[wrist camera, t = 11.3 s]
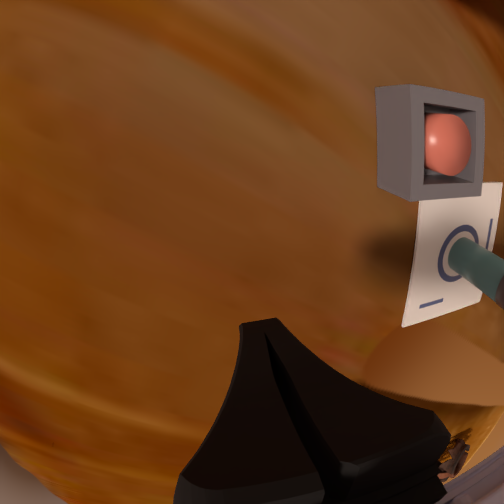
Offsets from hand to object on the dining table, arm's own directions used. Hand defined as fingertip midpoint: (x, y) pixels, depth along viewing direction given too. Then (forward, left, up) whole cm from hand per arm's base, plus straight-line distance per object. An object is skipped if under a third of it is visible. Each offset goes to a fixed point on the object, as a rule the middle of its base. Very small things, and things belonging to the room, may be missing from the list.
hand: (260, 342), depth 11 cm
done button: (+6, -14, -9) cm, 18 cm away
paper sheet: (-4, -20, -10) cm, 23 cm away
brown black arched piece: (-49, -34, -11) cm, 61 cm away
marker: (-4, -20, -10) cm, 23 cm away
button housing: (+6, -14, -10) cm, 18 cm away
